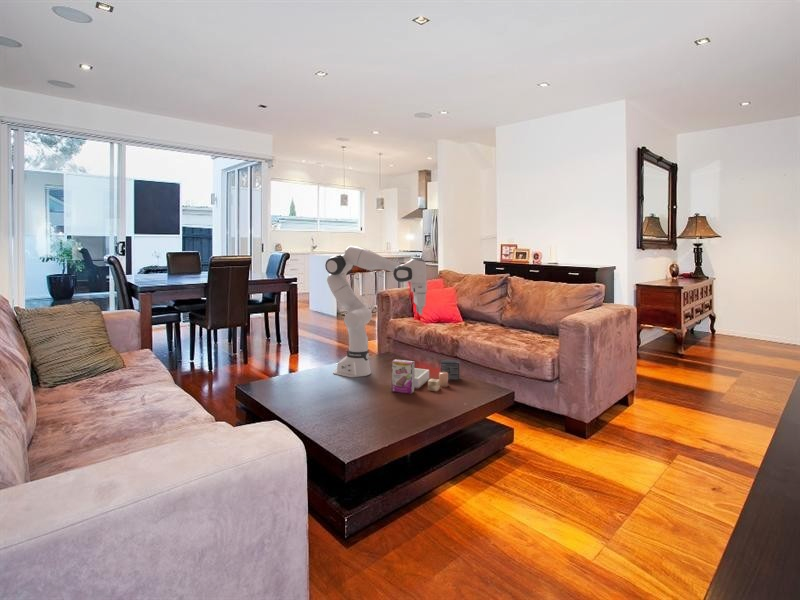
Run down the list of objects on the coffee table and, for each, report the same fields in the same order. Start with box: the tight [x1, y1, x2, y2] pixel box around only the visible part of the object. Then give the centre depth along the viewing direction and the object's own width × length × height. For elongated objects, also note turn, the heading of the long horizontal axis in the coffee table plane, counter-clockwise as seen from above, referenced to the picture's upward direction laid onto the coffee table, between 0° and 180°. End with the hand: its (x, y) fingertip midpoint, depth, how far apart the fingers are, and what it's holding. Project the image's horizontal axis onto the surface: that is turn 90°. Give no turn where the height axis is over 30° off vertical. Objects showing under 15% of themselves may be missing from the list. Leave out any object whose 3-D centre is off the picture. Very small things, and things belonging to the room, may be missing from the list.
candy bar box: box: [391, 359, 416, 395], centre depth 234 cm, size 11×5×16 cm, turn 71°
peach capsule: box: [438, 371, 449, 388], centre depth 245 cm, size 5×5×7 cm
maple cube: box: [427, 378, 440, 392], centre depth 239 cm, size 5×5×5 cm
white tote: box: [414, 367, 430, 389], centre depth 251 cm, size 14×18×6 cm
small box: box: [440, 359, 460, 382], centre depth 257 cm, size 11×6×10 cm, turn 84°
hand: (419, 313), depth 248 cm, fingers open, 8 cm apart
